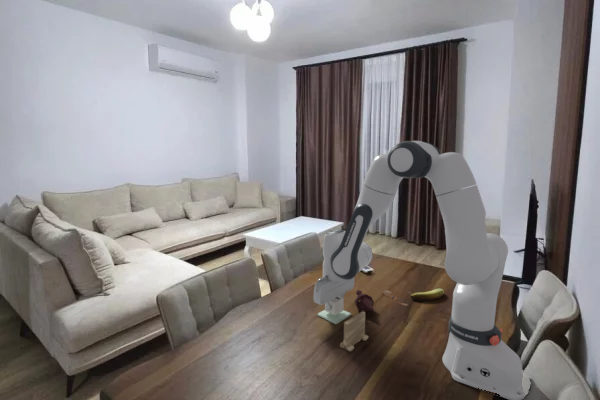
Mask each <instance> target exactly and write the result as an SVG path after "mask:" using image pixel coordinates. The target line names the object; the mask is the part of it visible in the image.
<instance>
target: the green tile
mask: <svg viewBox="0 0 600 400" xmlns="http://www.w3.org/2000/svg"><path fill="white" fill-rule="evenodd" d="M317 316H318V317H320V318H322V319H324V320H326V321H328V322H330V323H332V324H334V325H337V324H339V323H340V322H342V321H344V320H346V319H347V318H349V317H350V316H352V313H351V312H348V311H347V310H344V309H343V311H342V312H340V313H338V314H337V315H333V314H331V313H329V312H326V311H325V309H324V310H322V311H320V312H318V313H317Z"/></svg>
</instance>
